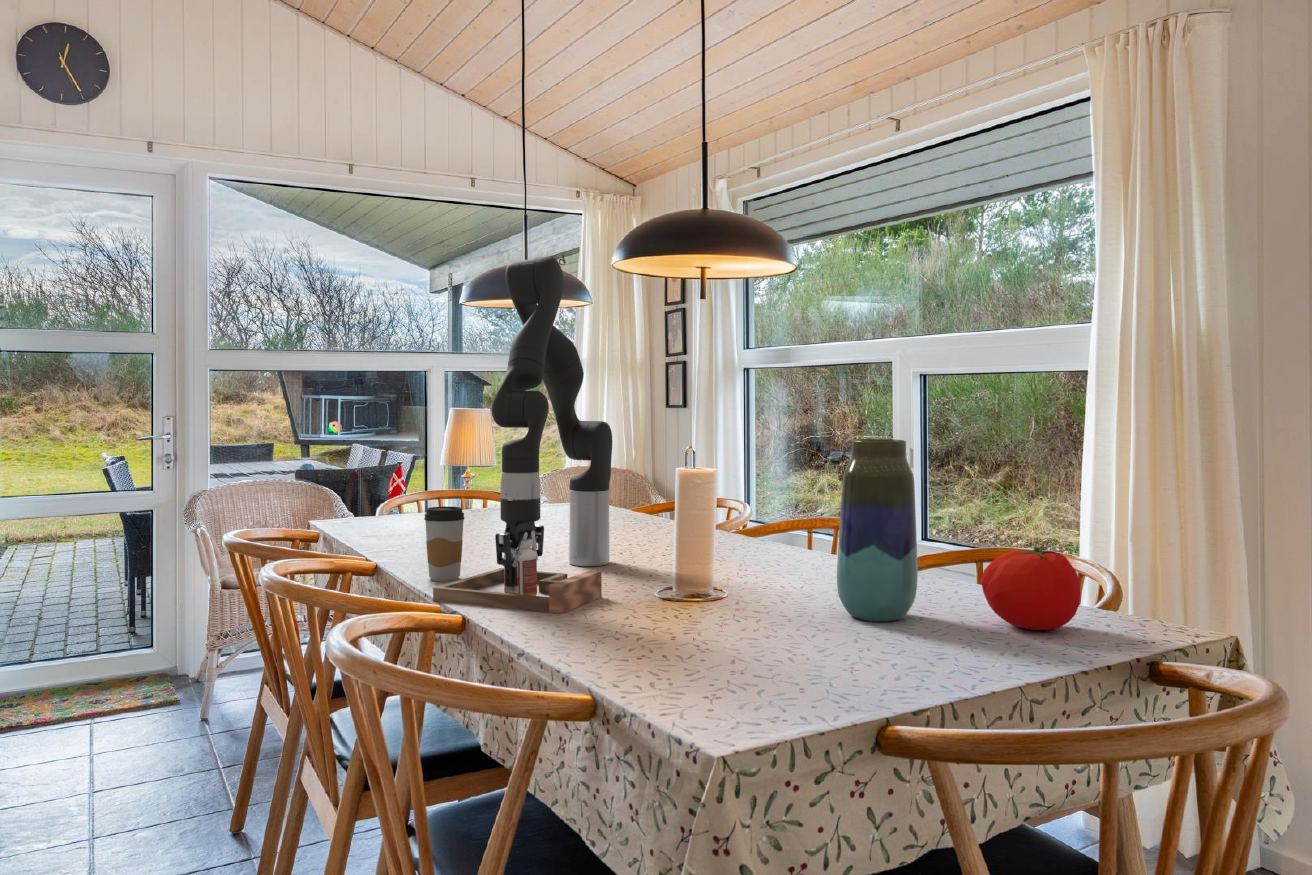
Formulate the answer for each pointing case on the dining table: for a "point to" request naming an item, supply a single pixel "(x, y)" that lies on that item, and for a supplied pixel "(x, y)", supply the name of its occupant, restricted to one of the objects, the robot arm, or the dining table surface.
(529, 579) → the pill bottle
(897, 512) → the vase
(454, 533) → the coffee cup
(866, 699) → the dining table surface
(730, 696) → the dining table surface
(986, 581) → the tomato
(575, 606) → the wooden tray frame
